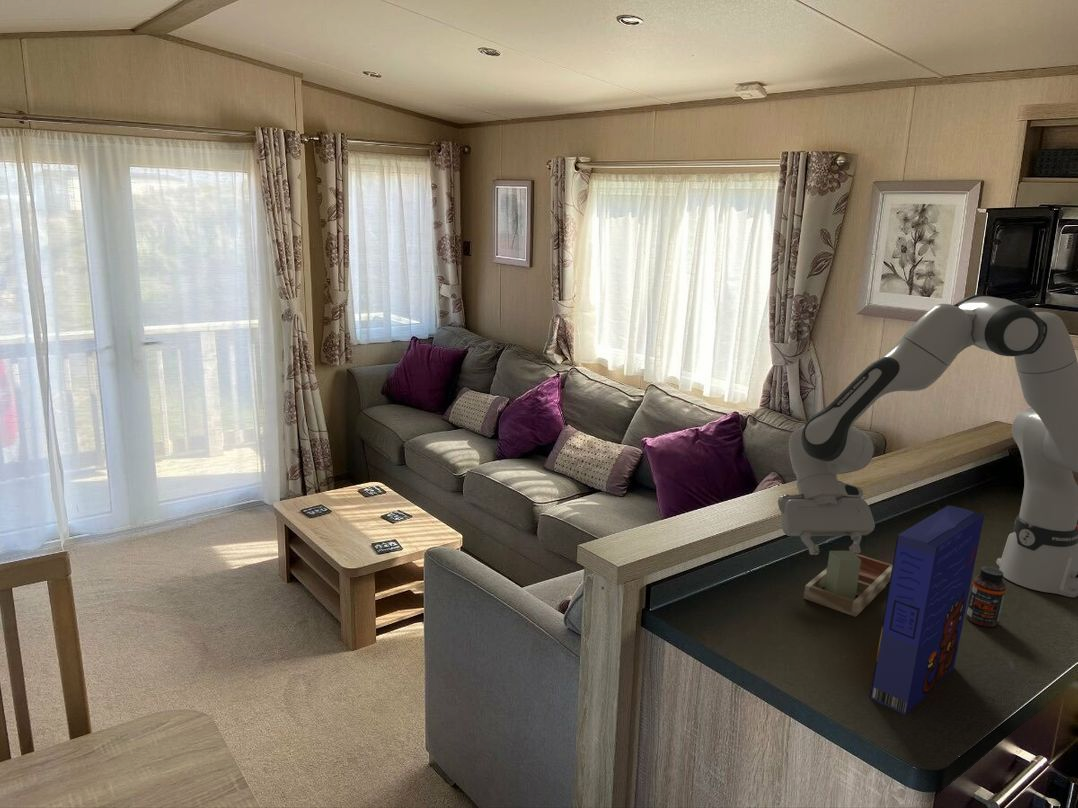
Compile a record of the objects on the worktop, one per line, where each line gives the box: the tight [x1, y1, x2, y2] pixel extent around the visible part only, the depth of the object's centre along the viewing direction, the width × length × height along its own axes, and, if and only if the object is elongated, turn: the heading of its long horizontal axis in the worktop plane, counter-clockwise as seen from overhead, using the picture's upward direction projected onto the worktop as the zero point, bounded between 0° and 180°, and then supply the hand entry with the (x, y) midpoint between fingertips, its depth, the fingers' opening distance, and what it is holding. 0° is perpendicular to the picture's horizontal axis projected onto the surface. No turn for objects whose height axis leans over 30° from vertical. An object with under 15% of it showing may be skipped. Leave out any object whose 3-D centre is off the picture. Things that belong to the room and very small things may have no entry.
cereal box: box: [869, 504, 985, 716], centre depth 137 cm, size 22×6×30 cm, turn 134°
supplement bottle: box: [965, 566, 1007, 628], centre depth 163 cm, size 6×6×11 cm
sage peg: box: [823, 550, 861, 600], centre depth 169 cm, size 5×5×10 cm
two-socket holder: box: [803, 553, 893, 618], centre depth 175 cm, size 25×11×3 cm, turn 140°
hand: (835, 553), depth 172 cm, fingers open, 8 cm apart
